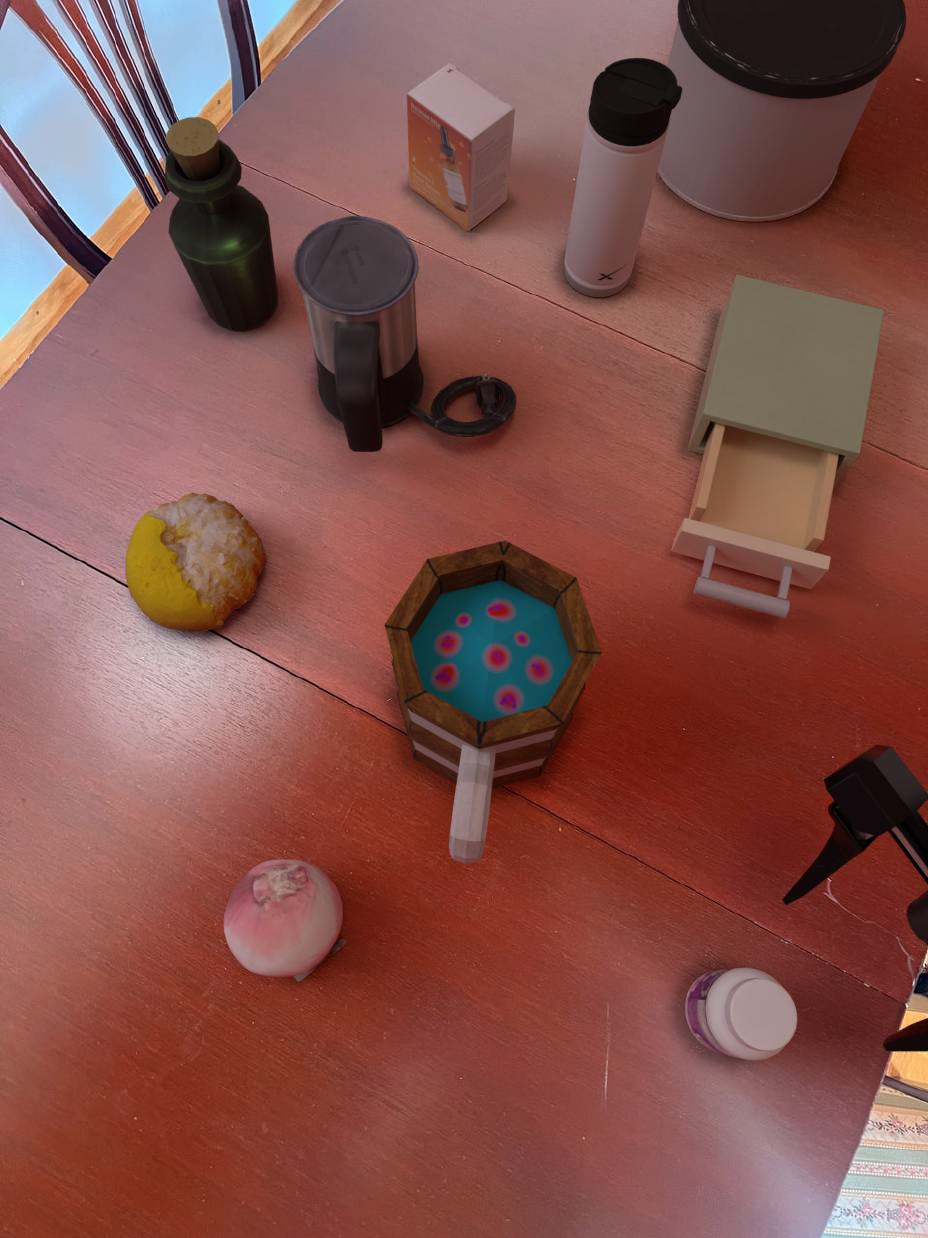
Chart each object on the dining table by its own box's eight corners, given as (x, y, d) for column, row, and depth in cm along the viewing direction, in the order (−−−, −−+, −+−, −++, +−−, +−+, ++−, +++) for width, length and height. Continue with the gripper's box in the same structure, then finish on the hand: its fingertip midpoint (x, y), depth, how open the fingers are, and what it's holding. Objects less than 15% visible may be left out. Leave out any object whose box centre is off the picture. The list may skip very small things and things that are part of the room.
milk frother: (306, 354, 84) (278, 229, 70) (475, 311, 86) (480, 181, 72) (349, 490, 79) (328, 384, 66) (528, 440, 81) (544, 328, 68)
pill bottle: (741, 958, 66) (787, 953, 57) (774, 1038, 64) (826, 1045, 56) (670, 985, 66) (704, 983, 57) (701, 1065, 64) (741, 1077, 55)
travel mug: (615, 310, 87) (661, 122, 68) (551, 281, 88) (578, 88, 69) (645, 262, 89) (697, 68, 70) (581, 234, 90) (616, 35, 71)
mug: (410, 613, 75) (400, 527, 61) (580, 634, 75) (610, 552, 61) (369, 866, 68) (348, 833, 54) (557, 891, 68) (584, 865, 54)
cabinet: (833, 488, 80) (860, 453, 75) (686, 450, 81) (703, 413, 76) (858, 351, 85) (884, 309, 80) (719, 317, 86) (736, 273, 81)
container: (611, 118, 95) (638, -33, 81) (766, 56, 99) (819, -98, 85) (716, 250, 89) (765, 112, 75) (878, 180, 93) (953, 35, 79)
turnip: (350, 865, 68) (339, 851, 62) (348, 980, 65) (336, 979, 59) (238, 867, 68) (215, 853, 61) (231, 983, 65) (205, 982, 59)
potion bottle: (210, 261, 88) (153, 88, 71) (296, 273, 88) (259, 102, 71) (186, 333, 85) (121, 170, 68) (276, 345, 85) (232, 185, 68)
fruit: (278, 632, 74) (226, 598, 67) (159, 653, 77) (96, 622, 69) (276, 503, 78) (227, 458, 71) (163, 527, 81) (105, 486, 73)
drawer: (802, 637, 74) (820, 619, 71) (659, 597, 75) (669, 578, 72) (836, 449, 80) (854, 424, 77) (703, 415, 82) (715, 388, 78)
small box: (408, 188, 91) (403, 91, 82) (449, 157, 93) (449, 58, 83) (468, 234, 90) (471, 140, 80) (509, 201, 91) (516, 105, 81)
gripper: (933, 713, 44) (684, 869, 52) (1242, 1100, 38) (908, 1208, 46) (973, 683, 53) (755, 819, 61) (1229, 993, 47) (951, 1099, 55)
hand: (834, 971), depth 56 cm, fingers open, 9 cm apart
